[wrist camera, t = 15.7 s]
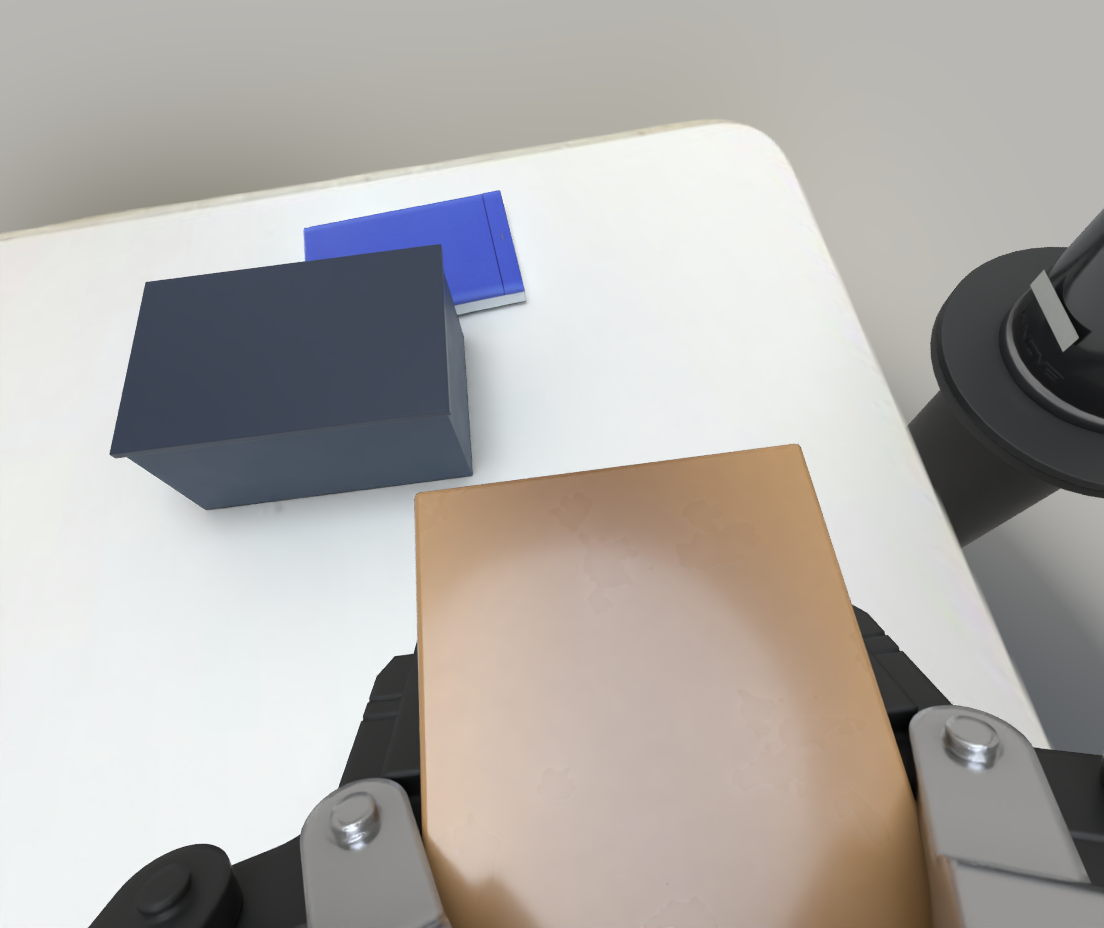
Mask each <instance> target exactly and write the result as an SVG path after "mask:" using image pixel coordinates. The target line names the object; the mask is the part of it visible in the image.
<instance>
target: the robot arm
mask: <svg viewBox="0 0 1104 928" xmlns="http://www.w3.org/2000/svg"><path fill="white" fill-rule="evenodd" d="M1030 286H1031V288H1029V289H1028V290H1027V291H1026V292H1025V293H1024V294H1023V295H1022V296H1021V297H1020V298H1019V299H1018V300H1017V301H1016V302H1015V303H1014V305H1013V306H1012V307H1011V308H1010V309H1009V310H1008V312H1007V313H1006V315H1005V317H1004V319H1003V321H1002V324H1001V327H1000V332H999V345H1000V351H1001V355H1002V358H1003V361H1004V363H1005V365H1006V367H1007V369H1008V371H1009V373H1010V374H1011V376H1012V377H1013V379H1014V380H1015V382H1016V383H1017V384H1018V385H1019V387H1020V388H1021V389H1022V390H1023V391H1024V392H1025V393H1026V394H1027V395H1028V396H1029V397H1030V398H1031V399H1032V400H1034V401H1035V402H1036V403H1037V404H1039V405H1040V406H1041V407H1043V408H1044V409H1045V410H1047V411H1049V412H1050V413H1052V414H1053V415H1055V416H1057V417H1059V418H1061V419H1062V420H1065V421H1067V422H1069V423H1071V424H1074V425H1076V426H1079V427H1081V428H1085V429H1088V430H1091V431H1095V432H1099V433H1104V209H1103V210H1102V211H1101V212H1100V213H1099V214H1098V215H1097V216H1096V217H1095V219H1094V220H1093V221H1092V222H1091V223H1090V224H1089V225H1088V226H1087V227H1086V228H1085V230H1084V231H1083V232H1082V233H1081V234H1080V235H1079V236H1078V237H1077V238H1076V239H1075V241H1074V242H1073V243H1072V244H1071V245H1070V246H1069V247H1068V248H1067V249H1066V250H1065V252H1064V253H1063V254H1062V255H1061V256H1060V257H1059V258H1058V259H1057V260H1056V261H1055V262H1054V264H1053V265H1052V266H1051V267H1050V268H1049V269H1048V270H1047V271H1046V272H1045V270H1043V271H1042V272H1041V273H1040V275H1039V276H1038V277H1037V278H1036V279H1035V280H1034V281H1033V282H1032V283H1031V285H1030ZM852 607H853V610H854V613H855V616H856V619H857V623H858V626H859V629H860V632H861V635H862V638H863V641H864V644H865V647H866V650H867V653H868V657H869V660H870V663H871V666H872V669H873V672H874V675H875V678H876V681H877V684H878V687H879V690H880V694H881V697H882V700H883V703H884V706H885V709H886V712H887V715H888V718H889V721H890V724H891V728H892V731H893V734H894V737H895V740H896V743H897V746H898V749H899V752H900V755H901V758H902V762H903V765H904V768H905V771H906V774H907V777H908V780H909V783H910V786H911V789H912V792H913V795H914V799H915V802H916V805H917V816H918V827H919V832H920V838H921V843H922V849H923V854H924V860H925V865H926V870H927V876H928V882H929V888H930V897H931V910H932V928H1104V752H1103V756H1102V755H1093V754H1084V753H1075V752H1066V751H1058V750H1049V749H1041V748H1035V747H1033V746H1032V745H1031V743H1030V742H1029V741H1028V740H1027V738H1026V737H1025V736H1024V735H1023V734H1022V733H1021V732H1019V731H1018V730H1017V729H1016V728H1014V727H1013V726H1012V725H1010V724H1009V723H1007V722H1005V721H1003V720H1002V719H1000V718H998V717H996V716H993V715H991V714H989V713H986V712H983V711H980V710H977V709H973V708H969V707H963V706H956V705H952V704H951V703H950V702H949V701H948V699H947V698H946V697H945V696H944V695H943V694H942V693H941V692H940V691H939V690H938V689H937V688H936V687H935V685H934V684H933V683H932V682H931V681H930V680H929V679H928V678H927V677H926V676H925V675H924V674H923V673H922V671H921V670H920V669H919V668H918V667H917V666H916V665H915V664H914V663H913V662H912V661H911V660H910V658H909V657H908V656H907V655H906V654H905V653H904V652H903V651H900V650H899V647H898V646H897V644H896V643H895V642H894V641H893V640H892V639H891V638H890V637H889V636H888V635H885V632H884V630H883V629H882V628H881V627H880V626H879V625H878V624H877V623H876V622H875V621H874V620H873V619H872V617H871V616H870V615H869V614H868V613H866V612H865V611H863V610H861V609H859V608H857V607H856V606H854V605H852ZM369 700H370V701H369V702H368V703H367V706H366V709H365V712H364V715H363V721H361V724H360V726H359V729H358V732H357V735H356V738H355V741H354V744H353V747H352V750H351V752H350V755H349V758H348V761H347V764H346V767H345V770H344V773H343V776H342V779H341V781H340V784H339V787H338V789H337V790H335V791H333V792H332V793H330V794H329V795H328V796H326V797H325V798H324V799H323V800H322V801H321V802H320V803H319V804H318V805H316V807H315V808H314V809H313V810H312V812H311V813H310V814H309V816H308V817H307V819H306V821H305V823H304V825H303V828H302V831H301V834H300V835H299V836H297V837H296V838H294V839H292V840H290V841H289V842H287V843H285V844H283V845H280V846H278V847H276V848H274V849H271V850H269V851H266V852H264V853H261V854H259V855H256V856H254V857H251V858H249V859H246V860H244V861H241V862H239V863H236V864H234V865H231V863H230V860H229V858H228V856H227V854H226V853H225V852H224V851H223V850H222V849H221V848H219V847H217V846H214V845H210V844H194V845H189V846H185V847H182V848H178V849H176V850H173V851H171V852H169V853H166V854H164V855H163V856H161V857H159V858H157V859H155V860H154V861H152V862H151V863H149V864H148V865H146V866H145V867H143V868H142V869H141V870H140V871H138V872H137V873H136V874H135V875H133V876H132V877H131V878H130V879H129V880H128V881H127V882H126V883H125V884H124V885H123V886H122V887H121V889H120V890H119V891H118V892H117V893H116V894H115V895H114V897H113V898H112V899H111V900H110V902H109V903H108V904H107V905H106V907H105V908H104V909H103V910H102V911H101V913H100V914H99V915H98V916H97V918H96V919H95V920H94V921H93V922H92V924H91V925H90V926H89V927H88V928H452V927H451V925H450V922H449V919H448V917H446V916H445V913H444V910H443V907H442V904H441V900H440V897H439V894H438V891H437V888H436V884H435V881H434V878H433V875H432V872H431V868H430V865H429V862H428V859H427V856H426V852H425V849H424V846H423V843H422V827H421V782H420V736H419V691H418V645H417V643H416V647H415V650H414V654H409V655H401V656H395V657H394V658H393V659H392V660H391V661H390V662H389V663H388V664H387V666H386V667H385V668H384V669H383V670H382V671H381V672H380V673H379V674H378V676H377V677H376V680H375V683H374V686H373V689H372V692H371V695H370V697H369Z"/></svg>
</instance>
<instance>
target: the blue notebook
mask: <svg viewBox="0 0 1104 928" xmlns="http://www.w3.org/2000/svg"><path fill="white" fill-rule="evenodd" d="M303 234H304V251H305V261H312V260H320V259H328V258H335V257H343V256H351V255H358V254H366V253H374V252H381V251H389V250H397V249H404V248H412V247H420V246H427V245H435V244H441V246H442V249H443V268H444V273H445V276H446V280H447V283H448V286H449V290H450V293H451V296H452V300H453V303H454V306H455V309H456V313H457V315H459V314H464V313H468V312H473V311H478V310H483V309H488V308H493V307H497V306H502V305H507V304H512V303H517V302H522V301H526V297H525V290H524V286H523V281H522V277H521V273H520V269H519V265H518V261H517V257H516V253H515V249H514V245H513V241H512V237H511V233H510V229H509V225H508V221H507V217H506V213H505V209H504V204H503V200H502V196H501V193H500V190H499V191H493V192H488V193H483V194H480V195H475V196H469V197H464V198H459V199H454V200H448V201H443V202H438V203H433V204H428V205H423V206H416V207H411V208H406V209H401V210H396V211H390V212H385V213H380V214H375V215H370V216H365V217H359V218H354V219H349V220H344V221H339V222H334V223H328V224H323V225H318V226H312V227H309V228H304V231H303Z"/></svg>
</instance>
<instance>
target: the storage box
mask: <svg viewBox="0 0 1104 928" xmlns="http://www.w3.org/2000/svg"><path fill="white" fill-rule="evenodd" d="M110 455H111V456H113V457H114V458H122V457H127V458H129V459H130V460H132V461H133V462H135V463H136V464H138V465H139V466H141V467H142V468H144V469H145V470H147V471H148V472H150V473H151V474H153V475H154V476H156V477H157V478H159V479H160V480H162V481H163V482H165V483H166V484H168V485H169V486H171V487H172V488H174V489H175V490H177V491H178V492H180V493H181V494H183V495H184V496H186V497H187V498H189V499H190V500H192V501H193V502H195V503H196V504H198V505H199V506H201V507H202V508H204V509H205V510H209V509H216V508H224V507H232V506H240V505H247V504H255V503H263V502H271V501H278V500H286V499H294V498H302V497H309V496H317V495H325V494H333V493H340V492H348V491H356V490H364V489H372V488H379V487H387V486H395V485H403V484H410V483H418V482H426V481H434V480H441V479H449V478H457V477H465V476H472V474H473V472H472V457H471V442H470V427H469V411H468V396H467V381H466V366H465V351H464V336H463V333H462V329H461V326H460V323H459V319H458V316H457V313H456V309H455V306H454V303H453V300H452V296H451V293H450V290H449V286H448V283H447V280H446V276H445V273H444V268H443V249H442V246H441V244H435V245H427V246H420V247H412V248H404V249H397V250H389V251H381V252H374V253H366V254H358V255H351V256H343V257H335V258H328V259H320V260H312V261H305V262H297V263H289V264H282V265H274V266H266V267H258V268H251V269H243V270H235V271H228V272H220V273H212V274H205V275H197V276H189V277H182V278H174V279H166V280H159V281H151V282H146V283H145V288H144V293H143V297H142V302H141V307H140V312H139V316H138V321H137V326H136V331H135V335H134V340H133V345H132V350H131V354H130V359H129V364H128V369H127V373H126V378H125V383H124V388H123V392H122V397H121V402H120V407H119V412H118V416H117V421H116V426H115V431H114V435H113V440H112V445H111V450H110Z"/></svg>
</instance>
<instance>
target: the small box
mask: <svg viewBox="0 0 1104 928" xmlns="http://www.w3.org/2000/svg"><path fill="white" fill-rule="evenodd" d="M414 509H415V554H416V600H417V645H418V691H419V736H420V782H421V827H422V843H423V846H424V849H425V852H426V856H427V859H428V862H429V865H430V868H431V872H432V875H433V878H434V881H435V884H436V888H437V891H438V894H439V897H440V900H441V904H442V907H443V910H444V913H445V916H446V917H448V919H449V922H450V925H451V927H452V928H932V910H931V897H930V888H929V882H928V876H927V870H926V865H925V860H924V854H923V849H922V843H921V838H920V832H919V827H918V816H917V805H916V802H915V799H914V795H913V792H912V789H911V786H910V783H909V780H908V777H907V774H906V771H905V768H904V765H903V762H902V758H901V755H900V752H899V749H898V746H897V743H896V740H895V737H894V734H893V731H892V728H891V724H890V721H889V718H888V715H887V712H886V709H885V706H884V703H883V700H882V697H881V694H880V690H879V687H878V684H877V681H876V678H875V675H874V672H873V669H872V666H871V663H870V660H869V657H868V653H867V650H866V647H865V644H864V641H863V638H862V635H861V632H860V629H859V626H858V623H857V619H856V616H855V613H854V610H853V607H852V604H851V601H850V598H849V595H848V592H847V589H846V585H845V582H844V579H843V576H842V573H841V570H840V567H839V564H838V561H837V558H836V555H835V552H834V548H833V545H832V542H831V539H830V536H829V533H828V530H827V527H826V524H825V521H824V518H823V514H822V511H821V508H820V505H819V502H818V499H817V496H816V493H815V490H814V487H813V484H812V480H811V477H810V474H809V471H808V468H807V465H806V462H805V459H804V456H803V453H802V450H801V447H800V446H799V444H789V445H781V446H773V447H766V448H758V449H750V450H743V451H735V452H727V453H720V454H712V455H704V456H697V457H689V458H681V459H674V460H666V461H658V462H650V463H643V464H635V465H627V466H620V467H612V468H604V469H597V470H589V471H581V472H574V473H566V474H558V475H551V476H543V477H535V478H528V479H520V480H512V481H505V482H497V483H489V484H481V485H474V486H466V487H458V488H451V489H443V490H435V491H428V492H420V493H418V494H416V496H415V499H414Z"/></svg>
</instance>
